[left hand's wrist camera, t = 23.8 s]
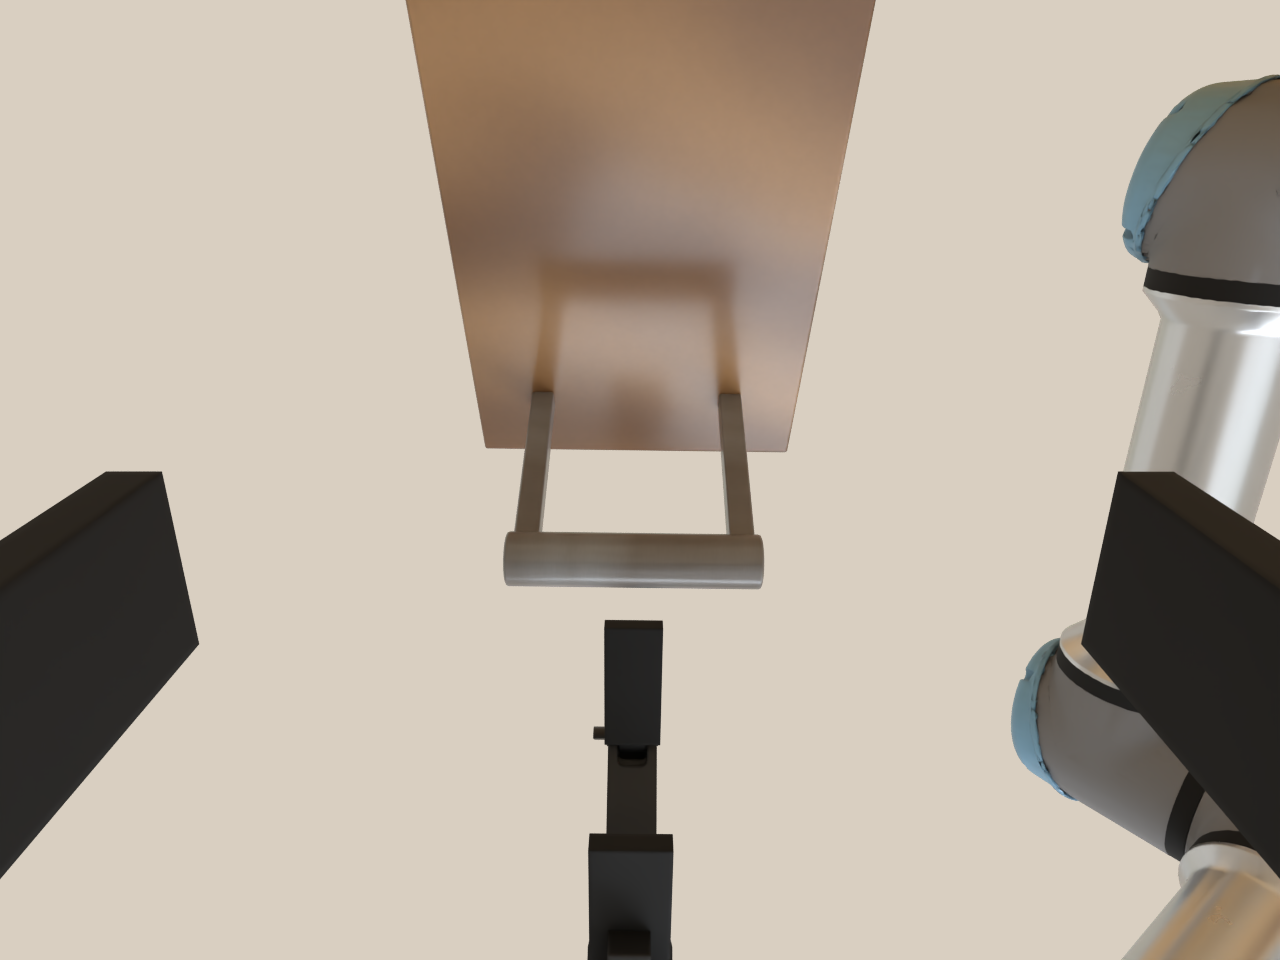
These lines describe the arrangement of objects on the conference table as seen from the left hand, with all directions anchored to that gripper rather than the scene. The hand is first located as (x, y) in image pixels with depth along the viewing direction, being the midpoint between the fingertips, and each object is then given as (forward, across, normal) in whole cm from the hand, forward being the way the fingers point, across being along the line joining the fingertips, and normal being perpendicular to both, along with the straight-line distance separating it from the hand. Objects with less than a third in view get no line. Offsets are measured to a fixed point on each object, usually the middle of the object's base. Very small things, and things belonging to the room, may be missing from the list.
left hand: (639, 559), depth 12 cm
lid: (+15, 0, -2) cm, 15 cm away
